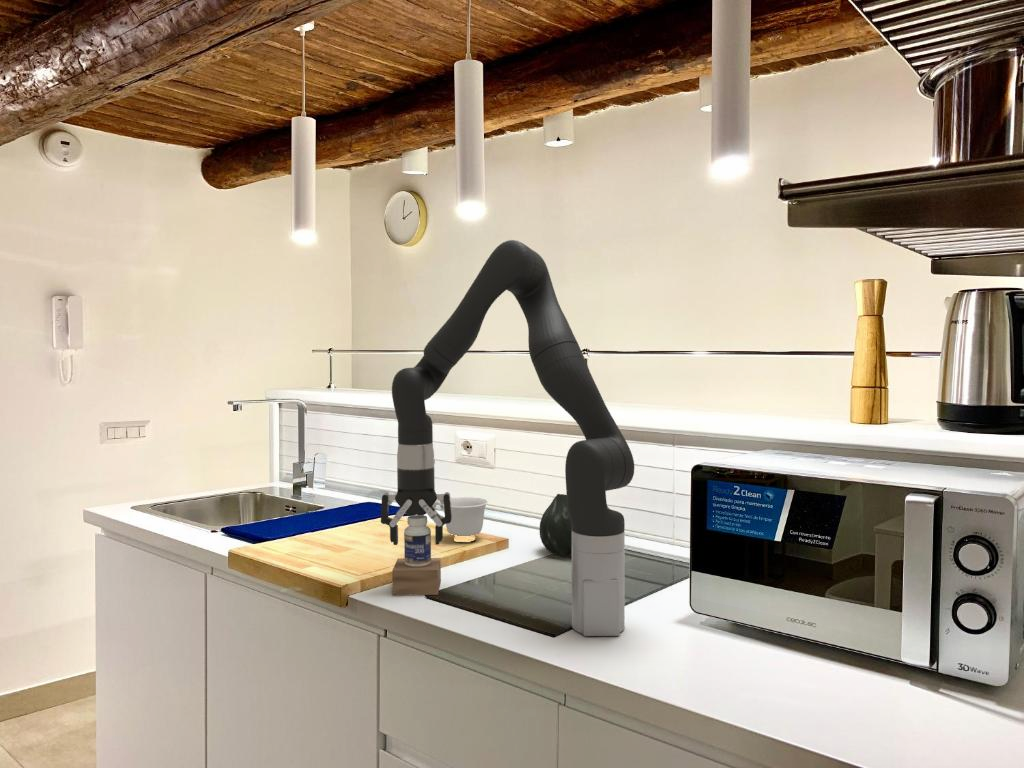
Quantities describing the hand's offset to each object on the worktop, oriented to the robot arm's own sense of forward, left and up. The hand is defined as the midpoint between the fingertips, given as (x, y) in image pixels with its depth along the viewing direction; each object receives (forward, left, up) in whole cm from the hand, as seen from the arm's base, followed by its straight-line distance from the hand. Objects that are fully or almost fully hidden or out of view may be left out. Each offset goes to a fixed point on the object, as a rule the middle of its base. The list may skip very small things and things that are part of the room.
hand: (416, 543), depth 160 cm
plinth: (0, 0, -9) cm, 9 cm away
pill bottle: (0, 0, -4) cm, 4 cm away
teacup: (+40, -7, -9) cm, 41 cm away
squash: (+26, -34, -9) cm, 44 cm away
